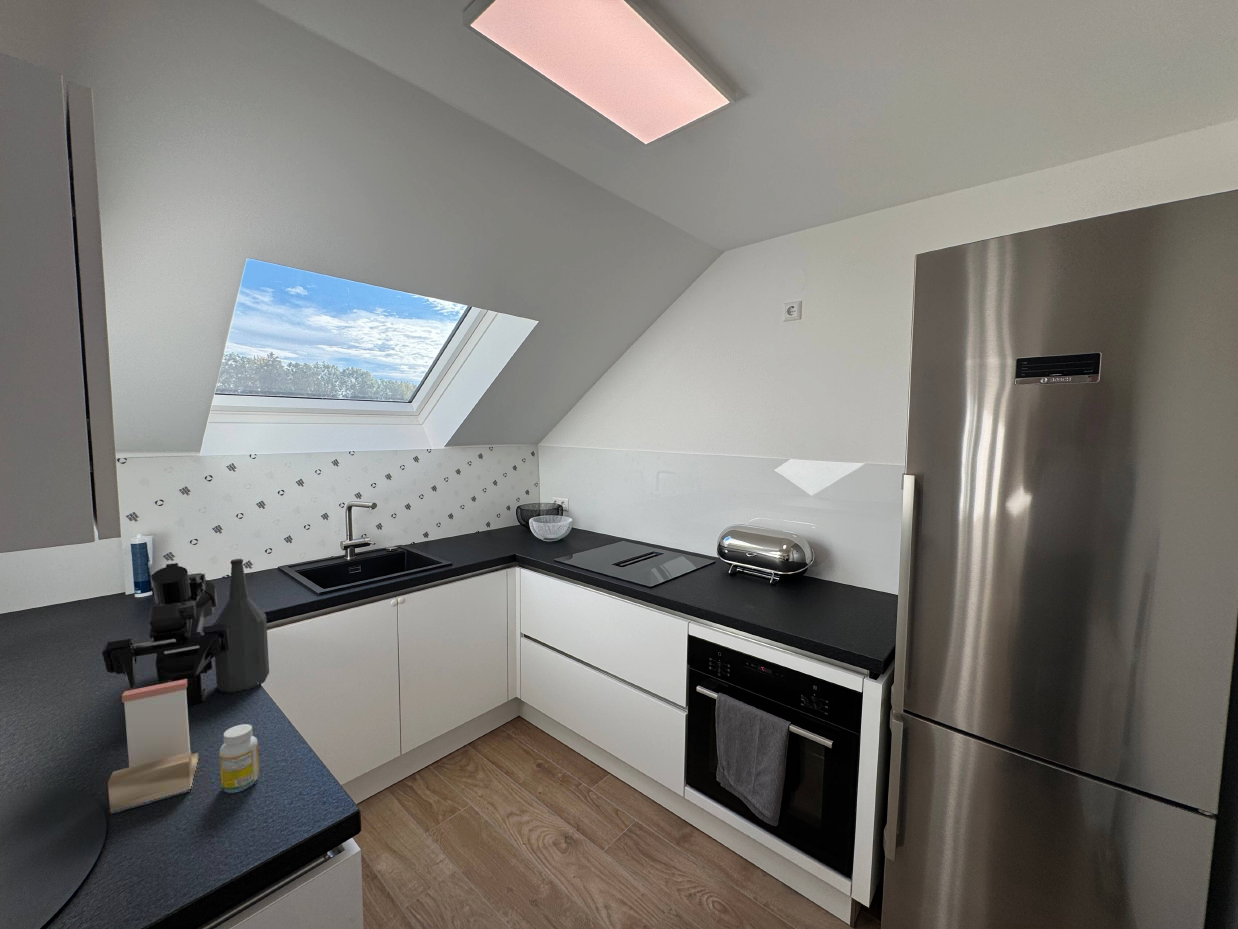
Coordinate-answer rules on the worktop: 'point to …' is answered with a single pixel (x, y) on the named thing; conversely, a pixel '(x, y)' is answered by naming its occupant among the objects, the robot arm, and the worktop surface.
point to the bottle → (242, 638)
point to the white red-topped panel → (156, 722)
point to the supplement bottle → (239, 758)
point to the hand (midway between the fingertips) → (163, 680)
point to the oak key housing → (151, 780)
